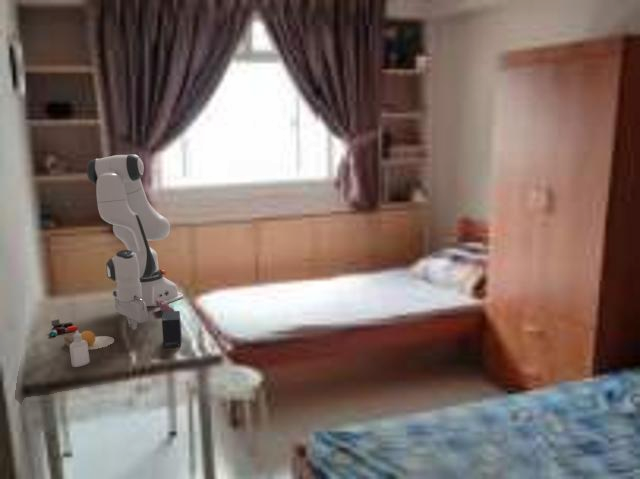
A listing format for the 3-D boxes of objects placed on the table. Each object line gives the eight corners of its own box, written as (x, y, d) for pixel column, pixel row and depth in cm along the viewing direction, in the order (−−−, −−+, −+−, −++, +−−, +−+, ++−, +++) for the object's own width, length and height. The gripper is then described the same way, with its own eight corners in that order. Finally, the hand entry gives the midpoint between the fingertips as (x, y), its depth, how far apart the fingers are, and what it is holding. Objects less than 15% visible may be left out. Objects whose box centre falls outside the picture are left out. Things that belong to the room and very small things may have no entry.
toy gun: (47, 339, 238) (46, 327, 237) (55, 328, 249) (54, 317, 248) (74, 337, 239) (73, 324, 238) (81, 326, 251) (79, 315, 250)
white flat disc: (105, 334, 240) (104, 333, 240) (120, 342, 230) (120, 342, 230) (71, 343, 231) (71, 342, 231) (85, 352, 222) (85, 352, 222)
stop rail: (71, 342, 232) (70, 335, 231) (87, 352, 222) (86, 344, 221) (65, 344, 230) (64, 336, 230) (80, 354, 220) (79, 346, 219)
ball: (93, 331, 232) (80, 327, 228) (100, 335, 228) (86, 331, 224) (87, 345, 231) (73, 341, 227) (94, 349, 227) (80, 346, 223)
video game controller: (160, 312, 269) (151, 299, 266) (169, 306, 270) (161, 293, 267) (166, 319, 260) (157, 305, 257) (175, 312, 261) (167, 299, 259)
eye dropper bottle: (89, 365, 210) (85, 331, 208) (71, 368, 208) (67, 333, 206) (90, 360, 214) (86, 327, 212) (72, 363, 212) (68, 329, 210)
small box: (182, 346, 224) (179, 318, 222) (163, 348, 223) (160, 320, 221) (182, 336, 234) (180, 309, 232) (164, 338, 233) (162, 311, 231)
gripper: (150, 297, 232) (153, 332, 235) (125, 287, 247) (128, 320, 250) (134, 300, 228) (138, 337, 231) (110, 290, 243) (113, 324, 245)
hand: (133, 328), depth 240 cm, fingers closed
